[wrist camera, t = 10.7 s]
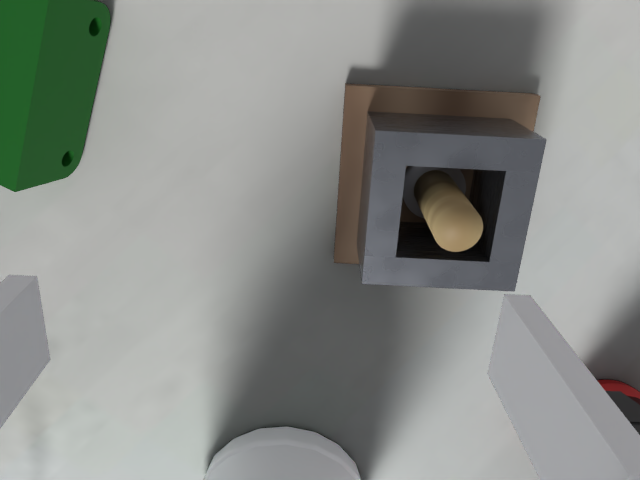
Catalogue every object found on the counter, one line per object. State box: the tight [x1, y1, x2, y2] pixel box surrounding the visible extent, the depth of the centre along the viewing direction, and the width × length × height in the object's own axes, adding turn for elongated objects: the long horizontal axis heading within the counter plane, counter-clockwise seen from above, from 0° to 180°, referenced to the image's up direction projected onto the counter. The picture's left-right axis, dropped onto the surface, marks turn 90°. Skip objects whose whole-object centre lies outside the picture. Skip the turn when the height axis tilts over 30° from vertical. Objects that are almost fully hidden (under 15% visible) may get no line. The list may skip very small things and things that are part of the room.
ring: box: [357, 111, 546, 291], centre depth 33 cm, size 9×9×6 cm
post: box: [334, 83, 540, 264], centre depth 33 cm, size 12×12×9 cm
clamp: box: [0, 0, 110, 192], centre depth 32 cm, size 12×6×9 cm, turn 153°
